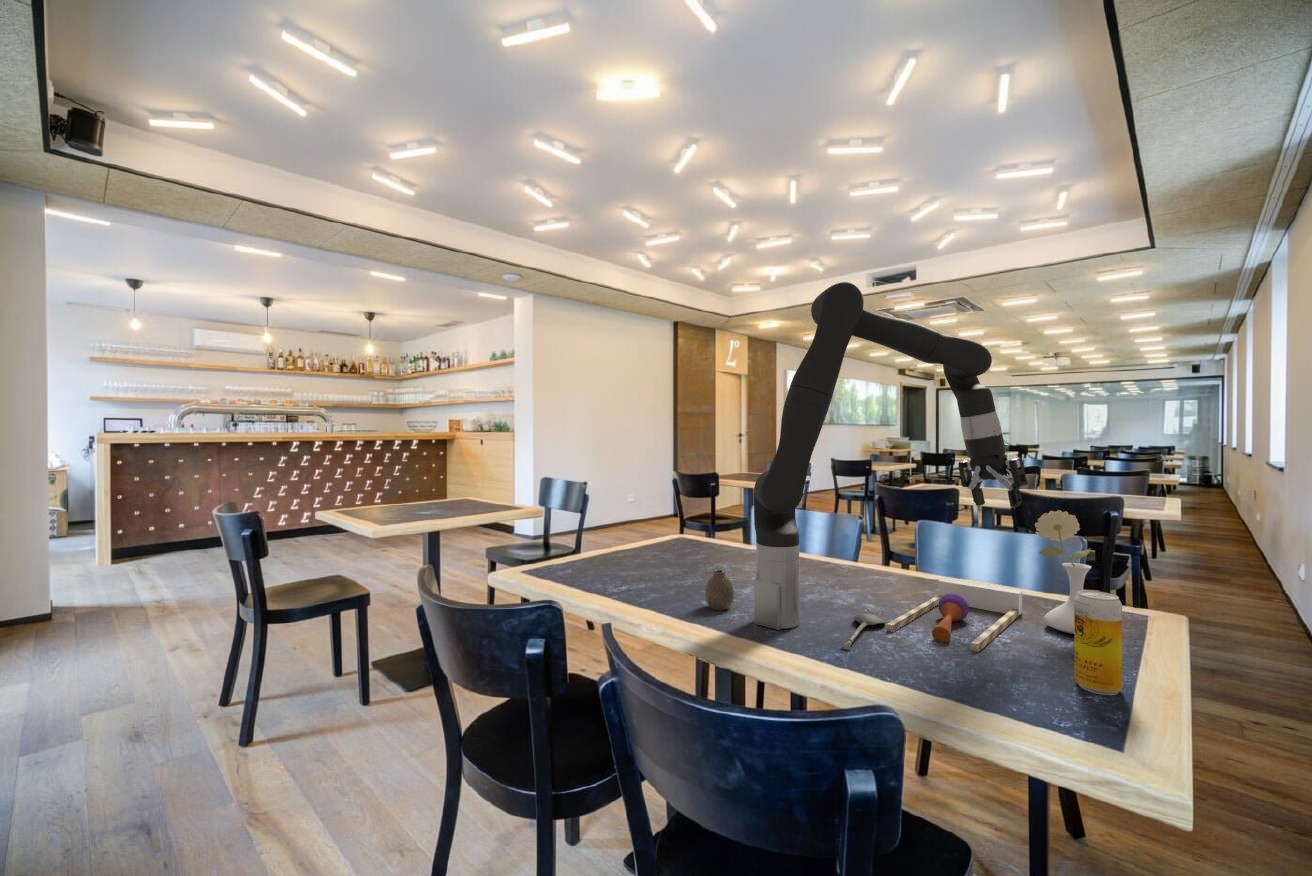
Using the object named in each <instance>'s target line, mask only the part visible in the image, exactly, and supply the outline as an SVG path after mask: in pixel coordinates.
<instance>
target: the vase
mask: <svg viewBox="0 0 1312 876" xmlns="http://www.w3.org/2000/svg"><path fill="white" fill-rule="evenodd" d="M704 597H705V601H706V604H707V606H709V607H710V608H711V609H712V610H715V611H726V610H728V609H729V608H730V607H731V606H732V604H733V603H734V598H735V588H734V586H733V582H732V580H730V578H729V577H728V576H727V573H726V571H725V570H723V569H716V570H714V571H713V574H711V576H710V578H709V579H708V580H707V583H706V585H705V589H704Z"/></svg>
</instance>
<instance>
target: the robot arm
mask: <svg viewBox="0 0 1312 876" xmlns="http://www.w3.org/2000/svg"><path fill="white" fill-rule="evenodd" d="M810 309H811V310H810V313H811V317H812V320H813V321H814V323H815V324H816V325H817V326H816V331H815V333H814V337H813V338H812V342H811V344H810V346H809V348H808V350H807V352H806V353H805V355H804V357H803V359H802V360H801V362H800V364H799V366H798V367H797V370H795V374H794V375H793V377H792V380H791V381H790V385H789V389H788V391H787V394H786V397H785V400H784V404H783V409H782V412H781V413H782V414H781V421H780V422H781V423H780V435H779V440H778V445H777V449H776V452H775V455H774V458H773V460H772V463H771V464H770V468H769V469H768V470H766V471H764V472H763V473H761V474H760V475H759V476H758V477H757V479H756V481H755V482H754V488H753V521H754V522H753V523H754V530H755V545H756V546H755V547H756V549H755V551H756V552H755V555H756V556H755V573H756V575H755V577H756V579H754V580H753V589H754V590H753V592H754V593H753V599H754V600H753V607H754V608H753V617H754V618H753V620H754V621H753V623H754V624H755V625H759V626H763V627H767V628H770V629H773V630H782V629H792V628H796V627H797V626H799V625H800V532H799V529H798V526H797V519H796V518H797V517H796V509H797V507H798V506H799V505H800V503H801V501H802V500H803V496H804V491H805V486H806V481H807V476H808V471H809V466H810V462H811V459H812V455H813V452H814V450H815V446H816V445H817V442H818V439H819V436H820V434H821V431H822V429H823V425H824V423H825V420H826V417H827V414H828V412H829V408H830V405H831V402H832V399H833V395H834V392H835V388H836V386H837V385H836V384H837V381H838V378H839V375H840V371H841V368H842V364H843V362H844V361H843V360H844V357H845V353H846V351H847V348H848V346H849V344H850V340H851V338H852V337H855V338H859V339H863V340H865V341H869V342H872V343H875V344H877V345H879V346H880V345H881V346H883V347H885V348H889V349H890V350H893V351H897V352H898V353H901V354H904V355H905V356H908V357H910V358H913V359H916V360H918V361H920V362H923V363H925V364H928V365H929V364H932V365H937V364H939V365H942V368H943V374H944V376H945V379H946V381H947V383H948V386H949V387H950V389H951V392H952V394H953V395H954V397H955V399H956V403H957V407H958V413H959V417H960V427H961V432H962V437H963V442H964V445H965V446H964V447H965V451H966V455H967V457H968V458H969V459H965V460H961V461H960V462H959V461H958V464H957V465H958V471H959V477H960V483H961V484H960V485H961V487H962V488H968V489H969V490H970V491H971V497H972V500H973V502H974V504H975V506H977V507H980V506H984V505H985V503H986V501H985V496H984V491H983V488H982V485H983V483H984V482H985V480H986V481H987V480H991V481H996V480H997V481H998V482H999V483H1000V484H1003V486H1004V487H1005V488H1006V489H1007V495H1008V499H1009V505H1010V507H1011V508H1017V507H1020V506H1021V504H1022V502H1023V499H1022V495H1021V492H1020V488H1022V487H1025V486H1027V485H1028V484H1029V482H1028V479H1027V478H1028V477H1027V476H1026V475H1027V474H1026V472H1025V467H1024V464H1023V461H1022V459H1021V458H1020V457H1017V458H1016V457H1015V458H1012V459H1008V458H1007V457H1006V452H1007V451H1006V450H1007V449H1006V445H1005V440H1004V435H1003V430H1002V427H1001V422H1000V419H999V416H998V413H997V410H996V406H995V402H994V401H995V400H994V397H993V393H992V390H991V389H990V388H989V387H988V386H984V385H982V384H981V382H980V380H979V377H978V376H981V375H983V374H984V373H986V372H988V370H989V369H990V368H991V366H992V364H993V358H992V357H993V356H992V355H991V353H990V350H989V349H988V348H986V346H984V345H982V344H981V343H979V342H976V341H972V340H968V339H965V338H961V337H956V336H952V335H947V334H943V333H942V332H939V331H938V330H935V329H932V328H930V327H928V326H925V325H922V324H920V323H916V322H914V321H909V320H906V319H899V318H895V317H889V316H887V315H886V316H885V315H881V314H877V313H875V312H872V311H870V310H867V309H864V296H863V293H862V292H861V289H860V288H859V287H858V286H857V285H856V284H854V283H851V282H849V281H841V282H838V283H835V284H833V285H830V286H829V287H828V288H826V289H825V290H824V291H822V292H820V294H819V295H818V296H816V298H814V300H813V302H812V303H811V307H810ZM1009 469H1010V470H1009ZM972 471H973V472H972Z"/></svg>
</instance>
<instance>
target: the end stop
mask: <svg viewBox="0 0 1312 876" xmlns="http://www.w3.org/2000/svg"><path fill="white" fill-rule="evenodd" d="M937 582H938V583H937V584H938V587H937V588H938V591H937V592H938V593H937V596H938V595H941V596H944V595H945V594H950V593H953V594H958V595H960V596H962V597H963V598H964V599H965V600H966V601H967V603H968V605H969V608H974V609H978V610H979V609H980V610H984V611H991V612H995V613H1002V614H1006V613H1008V612H1009V611H1010V610H1011V609H1012V608H1015V609H1019V616H1021V615H1022V614H1023V591H1021V590H1016V589H1010V588H1003V587H998V586H990V585H984V584H979V583H973V582H972V583H971V582H965V581H959V580H953V579H947V578H941V579H940V580H938V581H937ZM1021 613H1022V614H1021Z"/></svg>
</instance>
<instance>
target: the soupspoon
mask: <svg viewBox="0 0 1312 876" xmlns="http://www.w3.org/2000/svg"><path fill="white" fill-rule="evenodd" d="M852 618H853V619H854V620H855V621H857V622H858V623H859V624H860V625H859V626H858V627H857V628H856V630H855V631H854V633H853V634H852V636H851V637H850V638H848V639H847V641H846V642H844V643H842V644H841V647H840V648H841V649H842V650H845V649H847V651H851V649H852V648H851V645H852V644H853V643H854V640H855V639H856V638H857V636H858V635H859V634H860V633H861V631H862V630H863V629H864V628H865V627H867V626H872V625H878V624H885V623H886V621H884V619H882V618H881V617H879V616H878V615H875V614H872V613H859V614H856V615H854V616H853V617H852Z"/></svg>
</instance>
